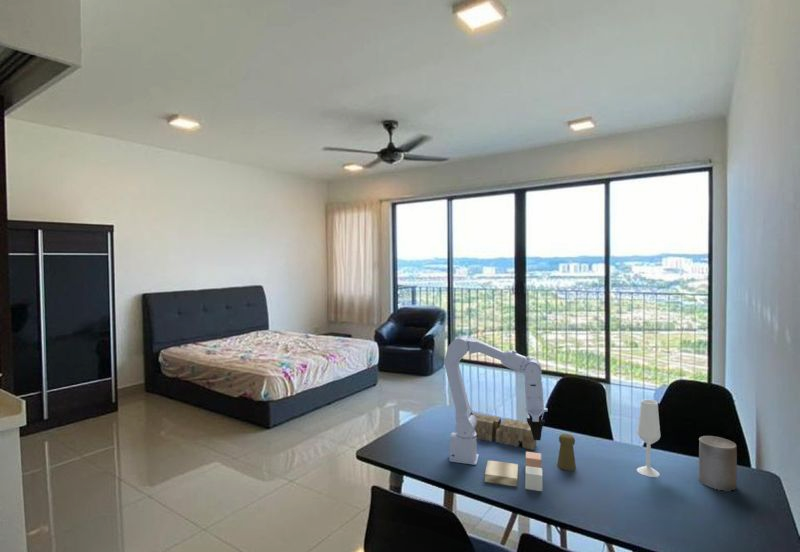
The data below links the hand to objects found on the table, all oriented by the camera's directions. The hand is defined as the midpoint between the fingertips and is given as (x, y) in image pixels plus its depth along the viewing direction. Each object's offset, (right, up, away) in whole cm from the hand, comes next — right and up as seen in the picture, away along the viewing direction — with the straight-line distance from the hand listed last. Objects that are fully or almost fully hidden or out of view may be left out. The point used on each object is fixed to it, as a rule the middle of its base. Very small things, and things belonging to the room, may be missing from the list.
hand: (536, 435), depth 143 cm
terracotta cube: (-1, -12, +1) cm, 12 cm away
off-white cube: (-4, -12, -10) cm, 16 cm away
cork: (+11, -12, +3) cm, 17 cm away
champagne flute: (+37, -12, -1) cm, 39 cm away
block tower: (-7, -12, +26) cm, 29 cm away
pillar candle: (+55, -13, -8) cm, 57 cm away
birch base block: (-13, -13, -4) cm, 18 cm away
